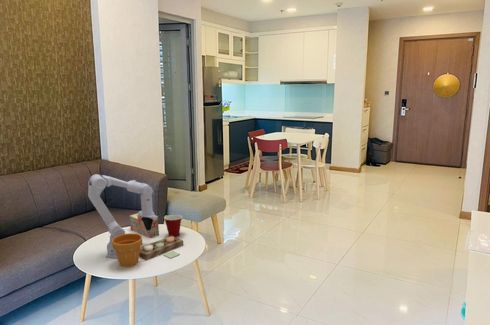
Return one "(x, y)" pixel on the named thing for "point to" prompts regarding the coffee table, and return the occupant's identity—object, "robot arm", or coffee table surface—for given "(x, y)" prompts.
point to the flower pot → (127, 248)
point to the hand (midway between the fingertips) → (148, 229)
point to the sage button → (159, 244)
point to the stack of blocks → (143, 226)
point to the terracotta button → (170, 239)
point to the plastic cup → (173, 224)
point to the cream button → (148, 248)
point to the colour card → (171, 254)
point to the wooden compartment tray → (160, 248)
